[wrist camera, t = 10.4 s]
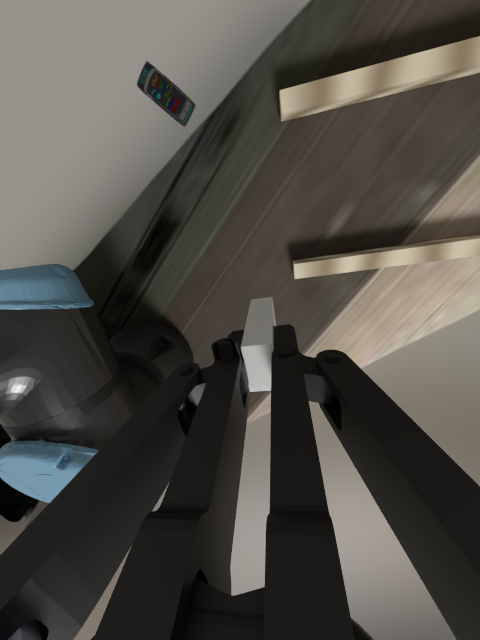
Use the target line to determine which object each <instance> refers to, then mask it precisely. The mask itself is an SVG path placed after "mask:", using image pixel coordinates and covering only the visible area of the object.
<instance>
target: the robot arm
mask: <svg viewBox="0 0 480 640" xmlns="http://www.w3.org/2000/svg"><path fill="white" fill-rule="evenodd" d="M93 305H94V302H93V300H91V299H90V298H89V296H88V294H87V293H86V291H85V289H84V287H83V285H82V284H81V282H80V280H79V278H78V276H77V275H76V274H75V273H74V272H73V271H72V270H71V269H69V268H68V267H66V266H63V265H59V264H48V265H39V266H31V267H23V268H15V269H7V270H0V424H1V426H2V427H3V428H4V429H5V431H6V432H7V433H8V434H9V435H10V437H11V439H12V440H11V442H9V443H7V444H5V445H4V446H3V447H2V448H1V449H0V477H1V478H2V479H3V480H4V481H5V482H6V483H7V484H9V485H10V486H12V487H13V488H15V489H17V490H18V491H20V492H22V493H24V494H26V495H28V496H31V497H33V498H35V499H38V500H41V501H44V502H47V503H49V504H48V505H47V506H46V507H45V509H44V510H43V511H42V512H41V513H40V514H39V515H38V516H37V517H36V518H35V519H34V520H33V521H32V522H31V523H30V524H29V526H28V527H27V528H26V529H25V530H24V531H23V532H22V533H21V534H20V535H19V536H18V537H17V539H16V540H14V541H13V543H12V544H11V545H10V546H9V547H8V548H7V549H6V550H5V551H4V552H3V553H2V554H1V555H0V640H73V639H74V637H75V636H76V635H77V633H78V632H79V630H80V629H81V628H82V626H83V625H84V623H85V621H86V620H87V618H88V617H89V615H90V613H91V612H92V610H93V609H94V607H95V606H96V604H97V603H98V601H99V599H100V598H101V596H102V594H103V592H104V591H105V589H106V588H107V586H108V584H109V583H110V581H111V579H112V577H113V576H114V574H115V572H116V571H117V569H118V567H119V566H120V564H121V562H122V561H123V559H124V557H125V556H126V554H127V552H128V551H129V549H130V547H131V546H132V547H131V549H130V552H129V554H128V557H127V559H126V562H125V564H124V566H123V569H122V572H121V574H120V576H119V579H118V581H117V584H116V586H115V588H114V591H113V593H112V596H111V598H110V600H109V603H108V605H107V608H106V610H105V613H104V615H103V618H102V620H101V622H100V625H99V627H98V630H97V632H96V635H95V636H94V637H93V638H92V639H91V640H373V638H372V637H371V636H370V635H369V634H368V633H367V632H366V631H365V630H364V629H363V628H362V627H361V626H360V625H359V624H358V623H356V622H355V621H354V620H353V619H351V617H350V612H349V607H348V601H347V597H346V591H345V586H344V581H343V575H342V570H341V565H340V559H339V554H338V548H337V543H336V538H335V533H334V528H333V524H332V520H331V517H330V515H329V511H328V506H327V500H326V495H325V489H324V484H323V478H322V473H321V467H320V462H319V456H318V451H317V445H316V440H315V434H314V429H313V424H312V418H311V412H310V407H309V401H312V402H318V403H319V405H320V408H321V409H322V411H323V413H324V414H325V416H326V418H327V420H328V421H329V423H330V425H331V426H332V428H333V430H334V432H335V433H336V435H337V437H338V438H339V440H340V441H341V443H342V445H343V447H344V448H345V450H346V452H347V454H348V455H349V457H350V459H351V460H352V462H353V464H354V466H355V467H356V469H357V471H358V472H359V474H360V476H361V478H362V479H363V481H364V482H365V484H366V486H367V488H368V489H369V491H370V493H371V495H372V496H373V498H374V500H375V501H376V503H377V505H378V506H379V508H380V509H381V512H382V513H383V515H384V516H385V518H386V520H387V522H388V523H389V525H390V527H391V529H392V530H393V532H394V534H395V535H396V537H397V539H398V540H399V542H400V544H401V545H402V547H403V549H404V551H405V552H406V554H407V556H408V557H409V559H410V561H411V562H412V564H413V566H414V568H415V569H416V571H417V573H418V574H419V576H420V578H421V579H422V581H423V583H424V584H425V586H426V588H427V590H428V592H429V593H430V595H431V597H432V598H433V600H434V602H435V603H436V605H437V606H438V609H439V610H440V612H441V613H442V615H443V617H444V619H445V620H446V622H447V624H448V625H449V627H450V629H451V630H452V632H453V634H454V636H455V637H456V639H457V640H480V487H479V485H478V484H477V483H476V482H475V481H474V480H473V479H472V478H470V476H469V475H468V474H466V473H465V472H464V471H463V470H462V469H461V468H460V467H459V466H458V465H457V464H456V463H455V462H454V461H453V460H452V459H451V458H450V457H449V456H448V455H447V454H446V453H445V452H444V451H443V450H442V449H441V448H440V447H439V446H438V445H437V444H436V443H435V442H434V441H433V440H432V439H431V438H430V437H429V436H428V435H427V434H426V433H425V432H424V431H423V430H422V429H421V428H420V427H419V426H418V425H417V424H416V423H415V422H414V421H413V420H412V419H411V418H410V417H409V416H408V415H407V414H406V413H405V412H404V411H403V410H402V409H401V408H400V407H399V406H398V405H397V404H396V403H395V402H394V401H393V400H392V399H391V398H390V397H389V396H388V395H387V394H386V393H385V392H384V391H383V390H382V389H381V388H380V387H378V385H377V384H376V383H374V381H372V379H370V377H369V376H368V375H366V374H365V373H364V372H363V371H362V370H361V369H360V368H359V367H358V366H357V365H356V364H355V363H354V362H353V361H352V360H351V359H350V358H349V357H348V356H347V355H346V354H345V353H343V352H341V351H338V350H325V351H322V352H320V353H318V354H317V356H316V358H312V357H307V356H304V355H302V354H301V353H300V352H299V350H298V346H297V340H296V335H295V329H294V327H293V326H291V325H290V324H288V325H279V326H276V322H275V314H274V307H273V300H272V297H268V298H260V299H253V300H251V303H250V308H249V312H248V316H247V321H246V325H245V330H239V331H233V332H232V333H231V334H230V335H229V336H228V338H223V339H220V340H217V341H215V342H214V343H213V344H212V345H211V347H212V351H213V355H214V358H215V361H214V363H213V365H212V366H209V367H206V368H202V369H200V367H199V365H198V364H196V363H194V360H193V355H192V352H191V350H190V348H189V346H188V345H187V343H186V342H185V340H184V339H183V338H182V337H181V336H180V335H179V334H178V333H176V332H175V331H174V330H172V329H171V328H169V327H167V326H165V325H162V324H160V323H156V322H151V321H138V322H133V323H131V324H128V325H126V326H125V327H124V328H122V329H121V330H120V331H119V332H117V333H116V334H115V335H114V336H113V338H112V339H111V340H109V338H108V336H107V334H106V332H105V330H104V328H103V326H102V324H101V322H100V320H99V318H98V315H97V313H96V311H95V309H94V307H93ZM248 385H249V389H250V392H255V391H271V462H270V469H271V470H270V513H269V515H268V516H267V524H266V560H265V562H266V563H265V587H264V588H260V589H257V590H253V591H250V592H246V593H243V594H239V595H236V596H231V574H230V562H231V552H232V544H233V535H234V526H235V517H236V509H237V500H238V491H239V483H240V475H241V465H242V457H243V449H244V440H245V431H246V423H247V414H248V405H249V395H248ZM182 403H183V406H184V407H183V408H182V409H181V410H179V408H180V406H181V405H182ZM168 483H169V485H168ZM167 485H168V488H167V490H166V493H165V496H164V498H163V501H162V503H161V505H160V508H159V509H158V510H157V511H154V512H152V510H153V508H154V507H155V505H156V504H157V502H158V500H159V498H160V497H161V495H162V493H163V492H164V490H165V488H166V487H167ZM132 544H133V545H132Z"/></svg>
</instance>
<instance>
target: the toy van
mask: <svg viewBox="0 0 480 640" xmlns="http://www.w3.org/2000/svg"><path fill="white" fill-rule="evenodd" d="M137 86H138V88H139V89H140V90H141V91H142V92H143V93H144V94H145V95H147V96H148V97H149V98H151V100H153V101H154V102H155V103H156V104H157V105H158V106H159V107H160V108H162V109H163V110H164V111H165V112H166V113H168V114H169V115H170V116H171V117H172V118H174V120H176V121H177V122H178V123H180V124H181V125H182V126H184V127H186V125H187V123H188V121H189V119H190V117H191V115H192V113H193V111H194V109H195V106H196V105H195V104H194V102H193V101H192V100H191V99H190V98H189V97H188V96H187V95H186V94H185V93H184V92H183V91H182V90H180V89H179V88H178V87H177V86H176V85H175V84H174V83H173V82H172V81H170V80H169V79H168V78H167V77H166V76H165V75H164V74H162V73H161V72H160V71H159V70H157V68H155V67H154V66H153V65H152V64H150V63H149V62H148V61H146V62H145V64H144V66H143V69H142V71H141V73H140V76H139V78H138V81H137Z"/></svg>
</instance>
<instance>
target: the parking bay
mask: <svg viewBox="0 0 480 640" xmlns="http://www.w3.org/2000/svg"><path fill="white" fill-rule="evenodd" d="M476 73H480V36H478V37H474V38H471V39H467V40H463V41H460V42H456V43H452V44H449V45H445V46H441V47H437V48H434V49H430V50H426V51H423V52H419V53H415V54H412V55H408V56H404V57H401V58H397V59H393V60H390V61H386V62H382V63H378V64H375V65H371V66H367V67H364V68H360V69H356V70H353V71H349V72H345V73H342V74H338V75H334V76H331V77H327V78H323V79H320V80H316V81H312V82H308V83H305V84H301V85H297V86H294V87H290V88H286V89H283V90H280V92H279V104H280V116H281V122H282V121H286V120H290V119H294V118H298V117H302V116H306V115H310V114H314V113H318V112H323V111H327V110H331V109H335V108H339V107H343V106H347V105H351V104H355V103H359V102H363V101H367V100H371V99H375V98H379V97H383V96H387V95H391V94H395V93H399V92H403V91H407V90H411V89H415V88H419V87H424V86H428V85H432V84H436V83H440V82H444V81H448V80H452V79H456V78H460V77H464V76H468V75H472V74H476ZM478 255H480V234H475V235H468V236H461V237H454V238H447V239H440V240H433V241H426V242H419V243H412V244H405V245H398V246H391V247H384V248H377V249H370V250H363V251H356V252H349V253H342V254H335V255H328V256H321V257H314V258H307V259H300V260H293V261H292V263H293V275H294V278H295V279H299V278H307V277H315V276H322V275H330V274H338V273H346V272H353V271H361V270H369V269H377V268H385V267H392V266H400V265H408V264H416V263H423V262H431V261H439V260H447V259H455V258H462V257H470V256H478Z"/></svg>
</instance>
